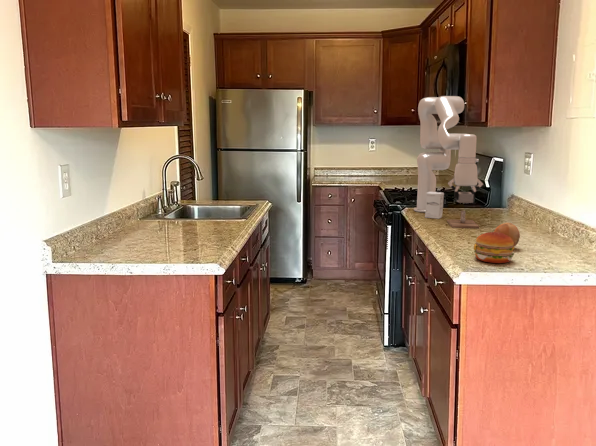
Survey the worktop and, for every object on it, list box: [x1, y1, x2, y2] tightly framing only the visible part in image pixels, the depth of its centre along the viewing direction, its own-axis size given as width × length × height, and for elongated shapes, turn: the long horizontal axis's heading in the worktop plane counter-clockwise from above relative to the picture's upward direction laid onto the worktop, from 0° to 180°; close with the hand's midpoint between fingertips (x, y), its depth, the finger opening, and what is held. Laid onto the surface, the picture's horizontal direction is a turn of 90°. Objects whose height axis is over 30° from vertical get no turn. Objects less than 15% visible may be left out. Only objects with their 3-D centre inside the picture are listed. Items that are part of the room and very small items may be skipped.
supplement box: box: [424, 191, 445, 220], centre depth 277 cm, size 7×7×13 cm
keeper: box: [446, 210, 480, 229], centre depth 258 cm, size 16×12×6 cm
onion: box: [493, 222, 521, 247], centre depth 210 cm, size 10×10×10 cm
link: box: [455, 191, 474, 204], centre depth 256 cm, size 8×6×4 cm
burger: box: [473, 231, 515, 264], centre depth 191 cm, size 13×14×10 cm
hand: (464, 199), depth 256 cm, fingers closed on link, 6 cm apart
